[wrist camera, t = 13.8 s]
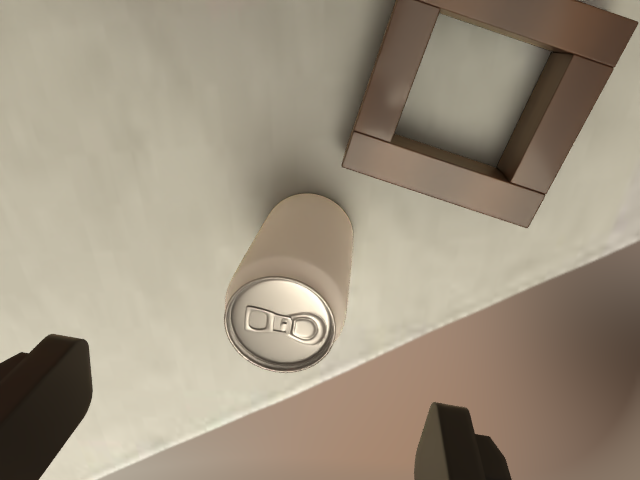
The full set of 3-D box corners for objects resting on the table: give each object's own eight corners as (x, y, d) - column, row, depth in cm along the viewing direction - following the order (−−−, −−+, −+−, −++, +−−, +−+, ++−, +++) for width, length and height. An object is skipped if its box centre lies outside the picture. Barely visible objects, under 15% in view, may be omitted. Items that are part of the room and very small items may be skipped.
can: (346, 280, 36) (333, 389, 25) (261, 265, 36) (212, 367, 25) (361, 199, 33) (355, 281, 22) (269, 184, 33) (219, 258, 22)
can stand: (344, 153, 32) (341, 167, 29) (410, -46, 27) (415, -56, 24) (512, 209, 32) (527, 229, 29) (608, 23, 27) (639, 22, 24)
